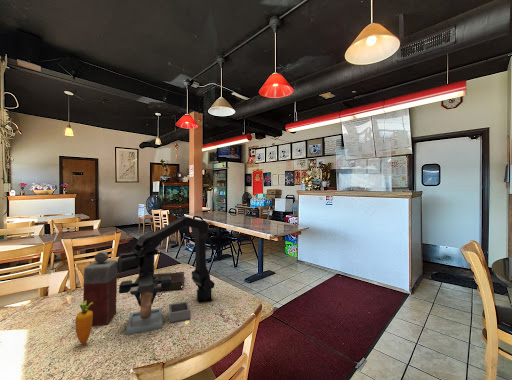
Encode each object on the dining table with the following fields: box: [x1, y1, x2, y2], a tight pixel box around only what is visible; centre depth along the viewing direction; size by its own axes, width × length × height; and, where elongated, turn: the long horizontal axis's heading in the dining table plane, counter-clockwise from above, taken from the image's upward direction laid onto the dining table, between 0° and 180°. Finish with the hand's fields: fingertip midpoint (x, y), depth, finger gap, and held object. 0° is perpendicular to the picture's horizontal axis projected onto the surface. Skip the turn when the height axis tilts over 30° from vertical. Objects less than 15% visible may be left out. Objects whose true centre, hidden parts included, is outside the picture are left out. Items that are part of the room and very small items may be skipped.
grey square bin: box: [168, 301, 191, 324], centre depth 99 cm, size 8×8×4 cm
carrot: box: [75, 301, 93, 346], centre depth 80 cm, size 5×5×15 cm
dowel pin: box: [139, 291, 152, 319], centre depth 94 cm, size 4×4×10 cm
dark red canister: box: [82, 250, 118, 327], centre depth 97 cm, size 9×11×28 cm
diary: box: [133, 271, 185, 295], centre depth 130 cm, size 19×25×5 cm
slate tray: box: [125, 307, 163, 336], centre depth 94 cm, size 12×12×2 cm
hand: (146, 305), depth 94 cm, fingers closed on dowel pin, 4 cm apart
